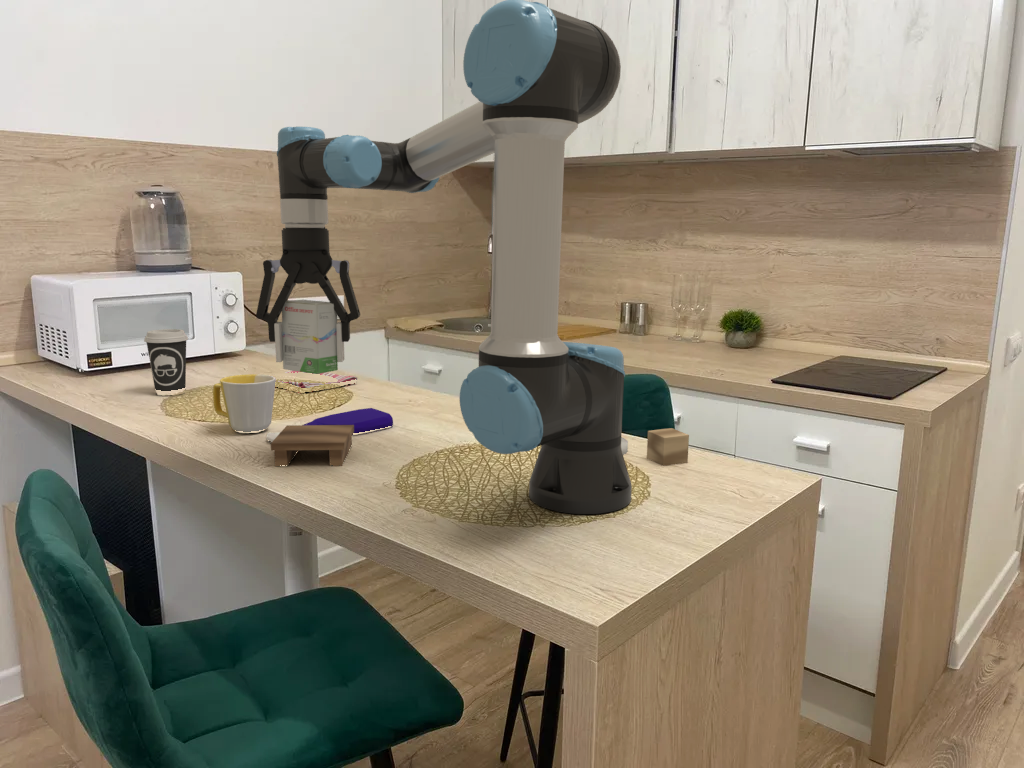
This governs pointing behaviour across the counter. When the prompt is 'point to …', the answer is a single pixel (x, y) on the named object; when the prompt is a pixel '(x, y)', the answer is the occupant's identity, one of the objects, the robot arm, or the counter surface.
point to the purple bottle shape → (352, 420)
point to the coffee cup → (167, 358)
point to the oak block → (667, 446)
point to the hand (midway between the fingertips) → (310, 360)
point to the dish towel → (307, 385)
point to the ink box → (309, 336)
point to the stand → (313, 442)
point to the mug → (246, 401)
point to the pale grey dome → (624, 445)
